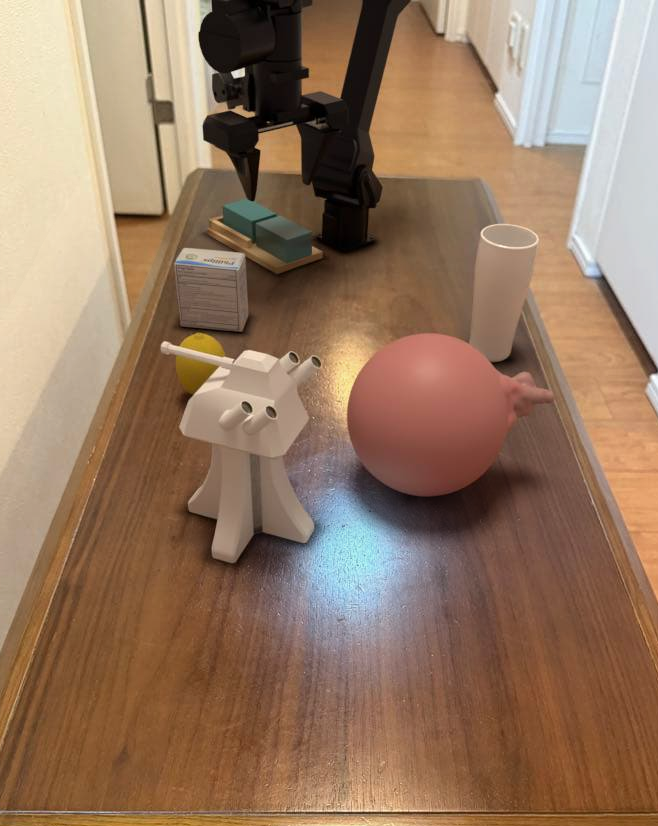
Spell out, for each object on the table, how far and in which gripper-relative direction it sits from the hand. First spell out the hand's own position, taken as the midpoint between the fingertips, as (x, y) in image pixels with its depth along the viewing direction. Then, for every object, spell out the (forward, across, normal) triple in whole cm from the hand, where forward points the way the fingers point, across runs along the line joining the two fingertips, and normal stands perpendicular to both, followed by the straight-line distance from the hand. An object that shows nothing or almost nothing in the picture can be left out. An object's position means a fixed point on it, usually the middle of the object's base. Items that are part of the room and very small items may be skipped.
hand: (279, 192), depth 107 cm
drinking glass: (+12, -8, +31) cm, 34 cm away
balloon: (+12, +15, +44) cm, 48 cm away
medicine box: (+12, +14, +4) cm, 19 cm away
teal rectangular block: (+11, -5, -13) cm, 18 cm away
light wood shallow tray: (+12, -5, -10) cm, 16 cm away
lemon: (+12, +25, +17) cm, 33 cm away
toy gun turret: (+12, +34, +36) cm, 51 cm away
